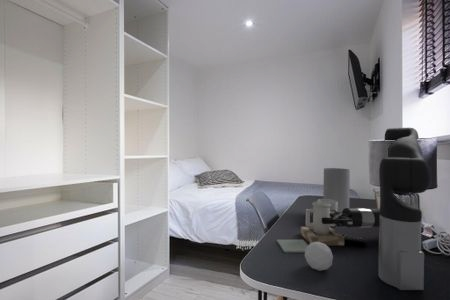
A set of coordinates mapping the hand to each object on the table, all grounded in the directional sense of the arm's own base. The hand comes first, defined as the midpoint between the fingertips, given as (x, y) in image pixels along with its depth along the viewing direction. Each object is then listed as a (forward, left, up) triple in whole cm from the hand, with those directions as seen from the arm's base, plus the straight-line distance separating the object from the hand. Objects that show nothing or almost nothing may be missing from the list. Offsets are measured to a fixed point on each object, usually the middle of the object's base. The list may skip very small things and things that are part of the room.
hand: (317, 217), depth 95 cm
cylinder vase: (+32, -24, -9) cm, 41 cm away
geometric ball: (-23, +9, -9) cm, 26 cm away
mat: (-7, +11, -9) cm, 16 cm away
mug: (+20, -14, -9) cm, 26 cm away
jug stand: (0, -2, -9) cm, 9 cm away
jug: (0, 0, -9) cm, 9 cm away
